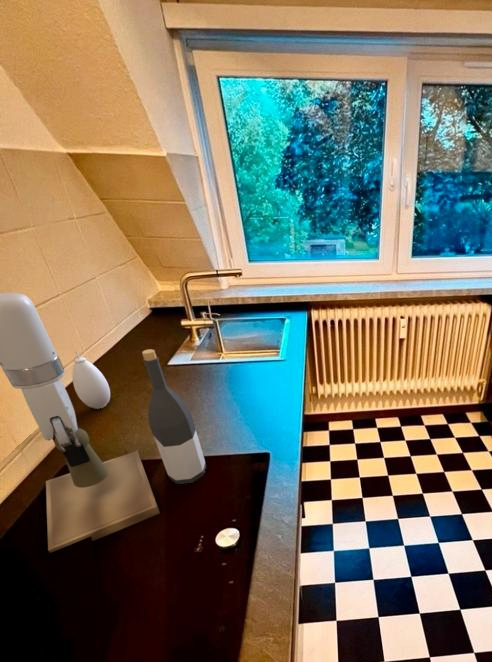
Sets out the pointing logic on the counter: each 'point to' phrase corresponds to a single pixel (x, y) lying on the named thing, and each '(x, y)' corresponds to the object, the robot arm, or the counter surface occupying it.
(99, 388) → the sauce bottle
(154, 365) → the wine bottle
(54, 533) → the cutting board
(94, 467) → the pepper mill
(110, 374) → the counter surface
